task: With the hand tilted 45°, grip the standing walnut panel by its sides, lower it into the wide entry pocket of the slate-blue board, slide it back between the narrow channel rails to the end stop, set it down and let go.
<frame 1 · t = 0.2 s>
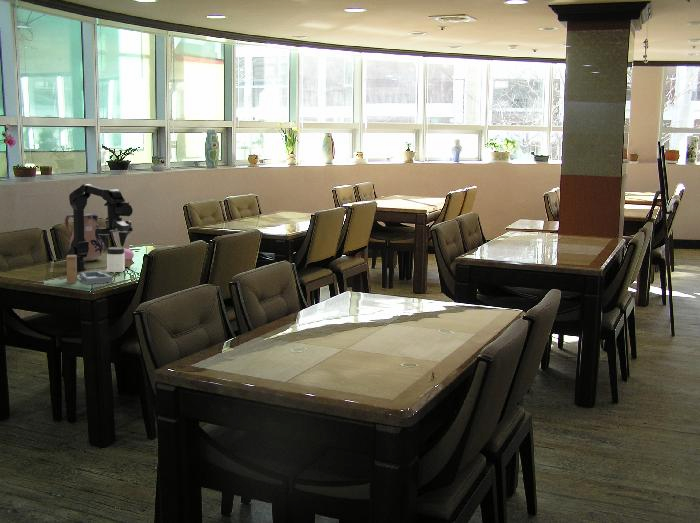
hand: (114, 247, 383), 14 cm above the table, tool pointing down, fingers open, 9 cm apart
ceramic pitcher: (84, 260, 430), on the table
cupcake: (125, 268, 411), on the table
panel: (72, 282, 368), on the table
keyhole board: (96, 281, 372), on the table
jar: (116, 271, 399), on the table
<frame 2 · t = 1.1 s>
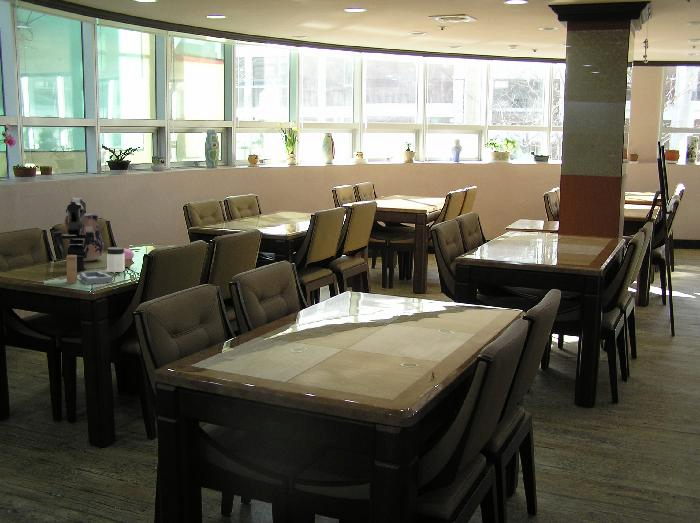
hand: (73, 251, 373), 13 cm above the table, tool tilted 45°, fingers open, 9 cm apart
nothing on the table moved.
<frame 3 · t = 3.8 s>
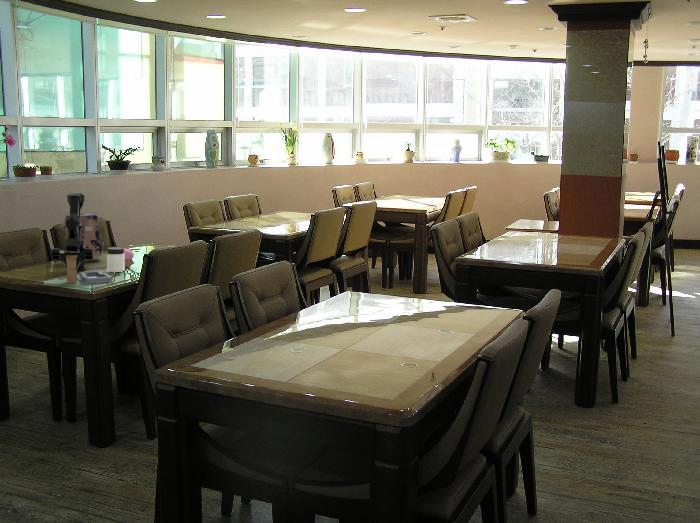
hand: (71, 268, 365), 7 cm above the table, tool tilted 45°, fingers closed on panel, 4 cm apart
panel: (72, 282, 368), on the table, touching gripper
everything else where it was.
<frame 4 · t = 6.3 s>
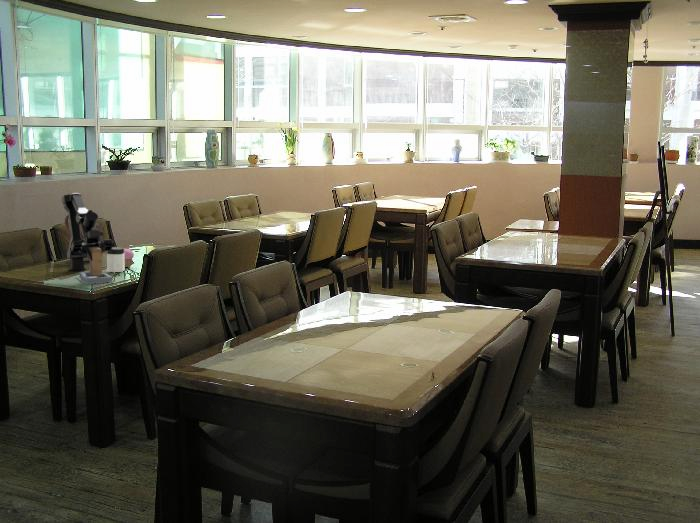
hand: (96, 260, 371), 10 cm above the table, tool tilted 45°, fingers closed on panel, 4 cm apart
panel: (95, 274, 373), point 3 cm above the table, touching gripper
everything else where it was.
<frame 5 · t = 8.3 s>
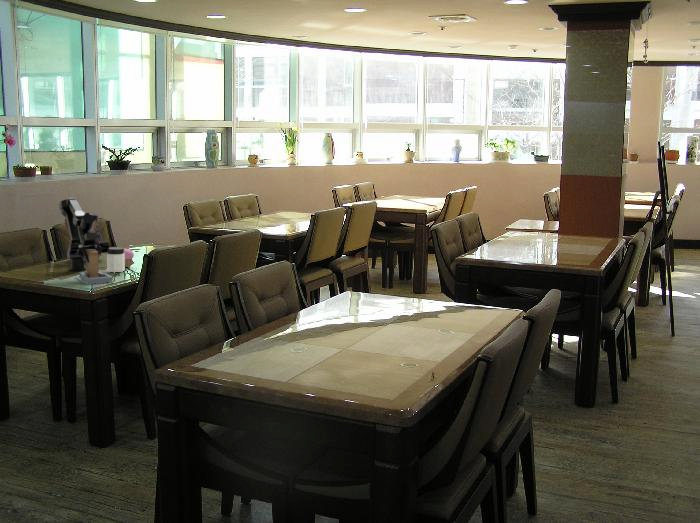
hand: (93, 262, 376), 8 cm above the table, tool tilted 45°, fingers closed on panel, 4 cm apart
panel: (92, 276, 378), point 1 cm above the table, touching gripper
everything else where it was.
when the fingers open (8 cm above the table, at t = 9.2 s): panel stays where it is, resting on keyhole board.
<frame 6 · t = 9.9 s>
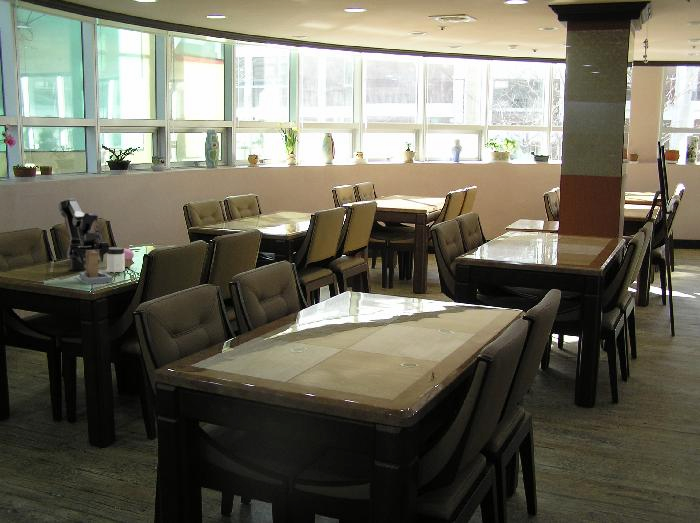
hand: (92, 262, 376), 8 cm above the table, tool tilted 45°, fingers open, 9 cm apart
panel: (92, 277, 378), resting on keyhole board
everything else where it was.
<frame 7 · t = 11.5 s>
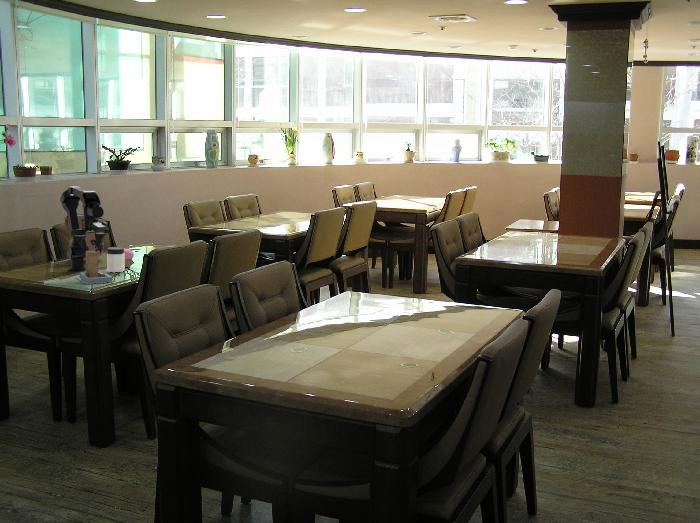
hand: (90, 248, 384), 13 cm above the table, tool pointing down, fingers open, 9 cm apart
nothing on the table moved.
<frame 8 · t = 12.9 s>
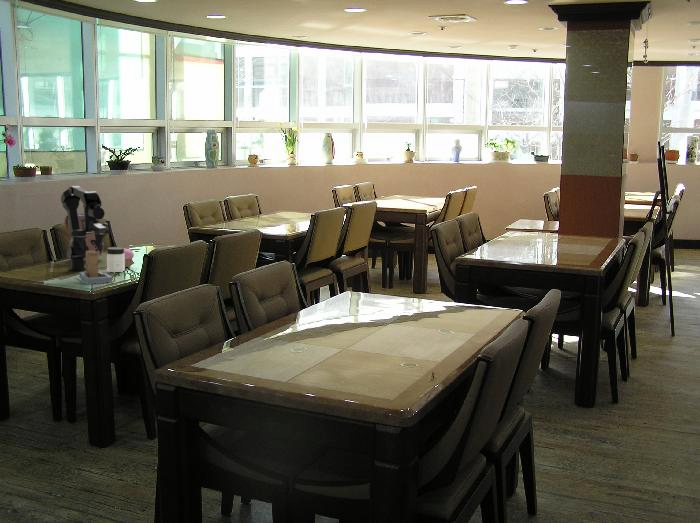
hand: (91, 249, 384), 13 cm above the table, tool pointing down, fingers open, 9 cm apart
nothing on the table moved.
at the end: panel inside the target area (0.1 cm from its centre), point 0.5 cm above the table; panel tilted 0°; the gripper is holding nothing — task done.
